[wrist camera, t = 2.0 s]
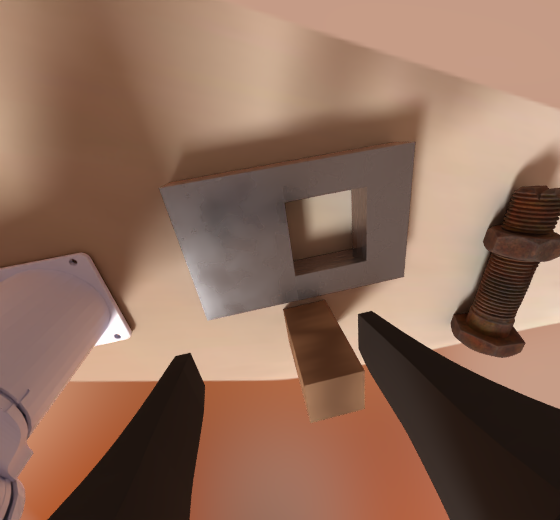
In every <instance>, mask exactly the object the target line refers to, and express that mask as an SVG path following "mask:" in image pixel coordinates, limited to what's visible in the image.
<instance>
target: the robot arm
mask: <svg viewBox="0 0 560 520" xmlns="http://www.w3.org/2000/svg"><path fill="white" fill-rule="evenodd" d="M72 259H74V260H76V261H77V263H74V262H73V261H72ZM117 334H120V335H117ZM131 334H132V331H131V329H130V327H129V325H128V324H127V322H126V320H125V318H124V316H123V315H122V313H121V311H120V309H119V308H118V306H117V304H116V302H115V300H114V299H113V297H112V295H111V293H110V292H109V290H108V288H107V286H106V284H105V283H104V281H103V279H102V277H101V275H100V274H99V272H98V270H97V268H96V267H95V265H94V263H93V261H92V259H91V258H90V256H89V255H87V254H86V253H75V254H70V255H65V256H60V257H55V258H50V259H44V260H39V261H34V262H29V263H24V264H19V265H14V266H9V267H3V268H0V520H20V518H21V515H22V513H23V508H24V503H25V489H24V487H23V484H22V483H21V481H20V480H18V479H17V477H18V476H19V474H20V473H21V471H22V470H23V468H24V467H25V465H26V463H27V462H28V461H29V459H30V457H31V456H32V454H33V451H32V450H31V449H30V448H29V447H28V445H27V439H28V438H29V436H30V435H31V434H32V432H33V430H34V429H35V428H36V427H37V425H38V424H39V422H40V421H41V420H42V418H43V417H44V415H45V414H46V412H47V411H48V410H49V408H50V407H51V405H52V404H53V403H54V401H55V400H56V399H57V397H58V395H60V393H61V392H62V390H63V389H64V388H65V386H66V385H67V383H68V382H69V381H70V379H71V378H72V376H73V375H74V374H75V372H76V371H77V369H78V368H79V367H80V365H81V364H82V362H83V361H84V360H85V358H86V357H87V355H88V354H89V353H90V351H91V350H92V349H93V347H94V346H98V345H102V344H107V343H111V342H116V341H120V340H125V339H128V338H129V337H130V336H131ZM358 342H359V351H360V353H361V355H362V357H363V359H364V361H365V364H366V366H367V367H368V370H369V371H370V373H371V375H372V377H373V378H374V380H375V382H376V383H377V385H378V386H379V388H380V389H381V391H382V393H383V394H384V396H385V398H386V399H387V401H388V403H389V404H390V406H391V407H392V408H393V411H394V412H395V414H396V415H397V417H398V419H399V420H400V422H401V423H402V425H403V427H404V428H405V430H406V432H407V434H408V436H409V438H410V439H411V441H412V443H413V445H414V447H415V449H416V451H417V453H418V455H419V457H420V459H421V461H422V463H423V465H424V466H425V469H426V471H427V473H428V475H429V477H430V479H431V481H432V483H433V485H434V487H435V489H436V491H437V493H438V495H439V497H440V499H441V502H442V504H443V505H444V508H445V510H446V512H447V514H448V516H449V519H450V520H560V409H558V408H555V407H553V406H550V405H547V404H545V403H542V402H540V401H537V400H535V399H532V398H530V397H527V396H525V395H523V394H520V393H518V392H516V391H514V390H511V389H509V388H507V387H504V386H502V385H500V384H497V383H495V382H493V381H491V380H489V379H487V378H484V377H482V376H480V375H478V374H476V373H474V372H472V371H470V370H468V369H466V368H464V367H462V366H460V365H458V364H456V363H454V362H453V361H451V360H449V359H447V358H445V357H444V356H442V355H440V354H438V353H437V352H435V351H433V350H431V349H430V348H428V347H426V346H425V345H423V344H421V343H420V342H418V341H417V340H415V339H413V338H412V337H410V336H409V335H407V334H405V333H404V332H402V331H401V330H399V329H398V328H396V327H395V326H393V325H392V324H390V323H389V322H387V321H386V320H384V319H383V318H381V317H380V316H378V315H377V314H375V313H374V312H372V311H369V312H365V313H361V314H358ZM204 394H205V385H204V382H203V380H202V378H201V376H200V373H199V371H198V369H197V367H196V364H195V362H194V360H193V358H192V355H191V353H187V354H183V355H179V356H175V358H174V359H173V360H172V362H171V363H170V365H169V366H168V368H167V369H166V371H165V372H164V374H163V375H162V377H161V378H160V380H159V381H158V383H157V384H156V386H155V387H154V389H153V390H152V392H151V393H150V395H149V396H148V398H147V399H146V400H145V402H144V403H143V405H142V406H141V408H140V409H139V410H138V412H137V413H136V415H135V416H134V417H133V419H132V420H131V422H130V423H129V424H128V425H127V427H126V428H125V430H124V431H123V432H122V434H121V435H120V436H119V438H118V439H117V440H116V442H115V443H114V444H113V445H112V447H111V448H110V449H109V451H108V452H107V453H106V454H105V455H104V456H103V458H102V459H101V460H100V461H99V463H98V464H97V465H96V466H95V467H94V468H93V470H92V471H91V472H90V473H89V474H88V476H87V477H86V478H85V479H84V480H83V481H82V482H81V484H80V485H79V486H78V487H77V488H76V489H75V490H74V491H73V492H72V494H71V495H70V496H69V497H68V498H67V499H66V500H65V501H64V502H63V503H62V504H61V505H60V507H59V508H58V509H57V510H56V511H55V512H54V513H53V514H52V515H51V516H50V518H49V519H48V520H189V518H190V505H191V493H192V486H193V477H194V471H195V465H196V459H197V452H198V447H199V440H200V434H201V427H202V421H203V414H204V397H205V395H204Z"/></svg>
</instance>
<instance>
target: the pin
mask: <svg viewBox="0 0 560 520" xmlns="http://www.w3.org/2000/svg"><path fill="white" fill-rule="evenodd" d="M283 311H284V316H285V322H286V327H287V333H288V338H289V343H290V347H291V350H292V354H293V358H294V362H295V366H296V370H297V374H298V377H299V381H300V385H301V389H302V393H303V397H304V400H305V404H306V408H307V412H308V416H309V420H310V423H313V422H317V421H320V420H324V419H328V418H332V417H336V416H340V415H344V414H347V413H351V412H355V411H359V410H362V409H365V400H364V399H365V371H364V369H363V367H362V365H361V363H360V362H359V360H358V358H357V356H356V354H355V353H354V351H353V349H352V347H351V346H350V344H349V342H348V340H347V338H346V337H345V335H344V333H343V331H342V329H341V328H340V326H339V324H338V322H337V321H336V319H335V317H334V315H333V313H332V312H331V310H330V308H329V306H328V305H327V303H326V301H325V300H322V301H318V302H313V303H309V304H304V305H300V306H296V307H291V308H287V309H283Z"/></svg>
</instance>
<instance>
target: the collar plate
mask: <svg viewBox="0 0 560 520" xmlns="http://www.w3.org/2000/svg"><path fill="white" fill-rule="evenodd" d="M414 152H415V142H392V143H386V144H380V145H375V146H369V147H364V148H358V149H353V150H347V151H341V152H336V153H330V154H325V155H319V156H314V157H308V158H303V159H297V160H291V161H286V162H280V163H275V164H269V165H264V166H258V167H253V168H247V169H241V170H236V171H230V172H225V173H219V174H214V175H208V176H202V177H197V178H191V179H186V180H180V181H175V182H170V183H168V184H166V185H164V186H162V187H160V188H159V190H160V193H161V195H162V198H163V201H164V203H165V206H166V209H167V212H168V214H169V217H170V220H171V222H172V225H173V228H174V231H175V233H176V236H177V239H178V241H179V244H180V247H181V250H182V252H183V255H184V258H185V261H186V263H187V266H188V269H189V271H190V274H191V277H192V280H193V282H194V285H195V288H196V290H197V293H198V296H199V299H200V301H201V304H202V307H203V309H204V312H205V315H206V318H207V320H212V319H217V318H221V317H226V316H230V315H235V314H239V313H244V312H248V311H253V310H257V309H262V308H266V307H271V306H275V305H280V304H284V303H289V302H293V301H298V300H302V299H307V298H311V297H316V296H320V295H325V294H329V293H334V292H338V291H343V290H347V289H352V288H356V287H361V286H365V285H370V284H374V283H379V282H383V281H388V280H392V279H397V278H401V277H404V268H405V257H406V245H407V233H408V222H409V210H410V198H411V187H412V175H413V163H414ZM346 190H351V193H352V238H353V249H349V250H344V251H339V252H334V253H330V254H325V255H320V256H315V257H311V258H306V259H301V260H296V261H293V258H292V251H291V244H290V237H289V230H288V223H287V217H286V210H285V203H284V202H289V201H294V200H299V199H305V198H310V197H315V196H320V195H325V194H331V193H336V192H341V191H346Z"/></svg>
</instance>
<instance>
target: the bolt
mask: <svg viewBox="0 0 560 520" xmlns="http://www.w3.org/2000/svg"><path fill="white" fill-rule="evenodd" d="M514 192H515V193H516V194H513V195H512V196H513V197H514V198H511V200H512V202H509V203H510V204H511V205H510V206H508V208H509V210H506V211H507V212H508V213H507V214H505V216H506V217H505V218H504V220H505V221H503V222H502V223H503V224H504V225H495V226H492V227H491V228H489V229H487V232H486V235H485V238H484V240H483V243H484V246H485V248H486V249H487V250H489V251H491V252H492V253H491V254H490V255H491V257H489V259H490V260H488V262H489V263H488V264H487V267H486V270H485V273H484V274H483V275H484V276H483V277H482V280H481V283H480V286H479V289H478V291H477V294H476V297H475V300H474V303H473V305H472V306H471V307H470V310H469V312H468V313H462V314H454V315H453V318H452V321H451V328H452V332H453V334H454V336H455V337H456V338H457V339H458V340H459V341H460V342H462V343H463V344H464V345H466V346H467V347H468V348H470V349H472V350H474V351H477V352H479V353H483V354H486V355H491V356H495V357H501V358H503V357H510V356H513V355H515V354H518V353H520V352H521V351H522V349H523V347H524V345H525V342H524V340H523V339H522V338H521V336H520V335H519V334H518V332H517V331H516V330H515V328H514V327H513V324H514V322H515V319H514V318H515V316H516V313H517V311H518V308H519V307H520V305H521V302H522V301H523V299H524V295H525V294H526V291H527V289H528V288H529V285H530V282H531V280H532V278H533V274H534V273H535V271H536V268H537V267H538V264H539V263H540V262H545V261H550V260H552V259H555V258H557V257H559V256H560V235H559V234H557V233H555V232H554V230H553V229H554V228H555V227H556V226H555V225H556V224H557V220H559V217H558V216H560V188H554V189H549V188H548V187H547V186H528V187H521V188H519V189H518V190H516V191H514Z"/></svg>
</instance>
